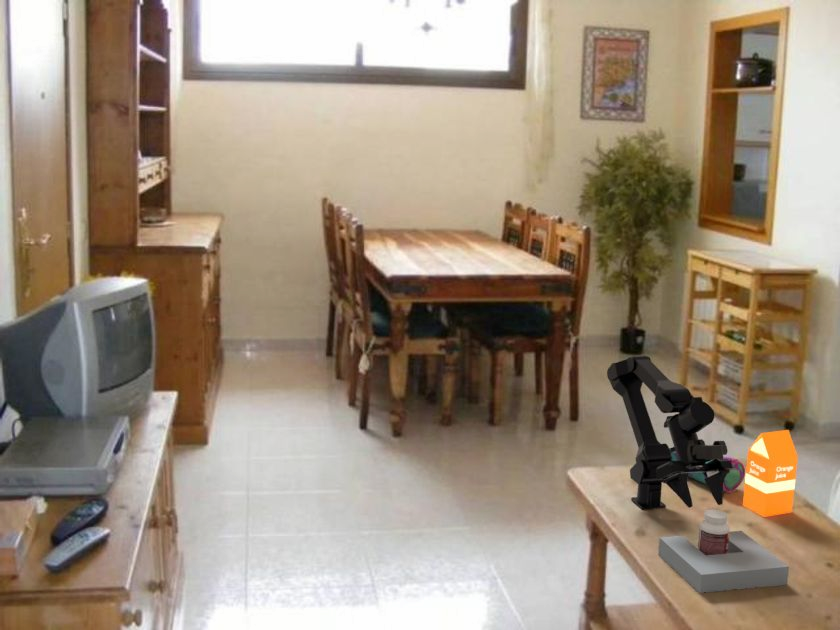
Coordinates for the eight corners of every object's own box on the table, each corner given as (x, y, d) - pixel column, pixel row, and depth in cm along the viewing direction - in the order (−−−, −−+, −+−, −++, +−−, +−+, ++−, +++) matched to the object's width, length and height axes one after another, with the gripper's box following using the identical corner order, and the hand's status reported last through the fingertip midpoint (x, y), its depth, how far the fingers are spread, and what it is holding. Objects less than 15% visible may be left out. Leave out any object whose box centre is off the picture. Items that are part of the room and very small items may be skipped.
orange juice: (792, 512, 242) (800, 434, 238) (763, 517, 239) (772, 438, 235) (769, 500, 249) (777, 424, 245) (741, 505, 246) (749, 428, 242)
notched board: (658, 554, 217) (659, 537, 216) (739, 547, 221) (741, 530, 221) (699, 593, 200) (701, 574, 199) (787, 584, 204) (789, 566, 204)
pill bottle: (731, 567, 211) (736, 519, 209) (703, 568, 211) (708, 519, 208) (719, 554, 217) (723, 507, 215) (692, 555, 217) (696, 508, 214)
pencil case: (664, 471, 269) (667, 437, 267) (689, 466, 273) (692, 433, 271) (720, 497, 251) (724, 461, 249) (746, 492, 255) (749, 456, 253)
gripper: (678, 428, 216) (699, 497, 210) (738, 426, 226) (760, 493, 220) (646, 445, 225) (665, 512, 219) (705, 442, 234) (725, 507, 228)
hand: (705, 505), depth 221 cm, fingers open, 9 cm apart
